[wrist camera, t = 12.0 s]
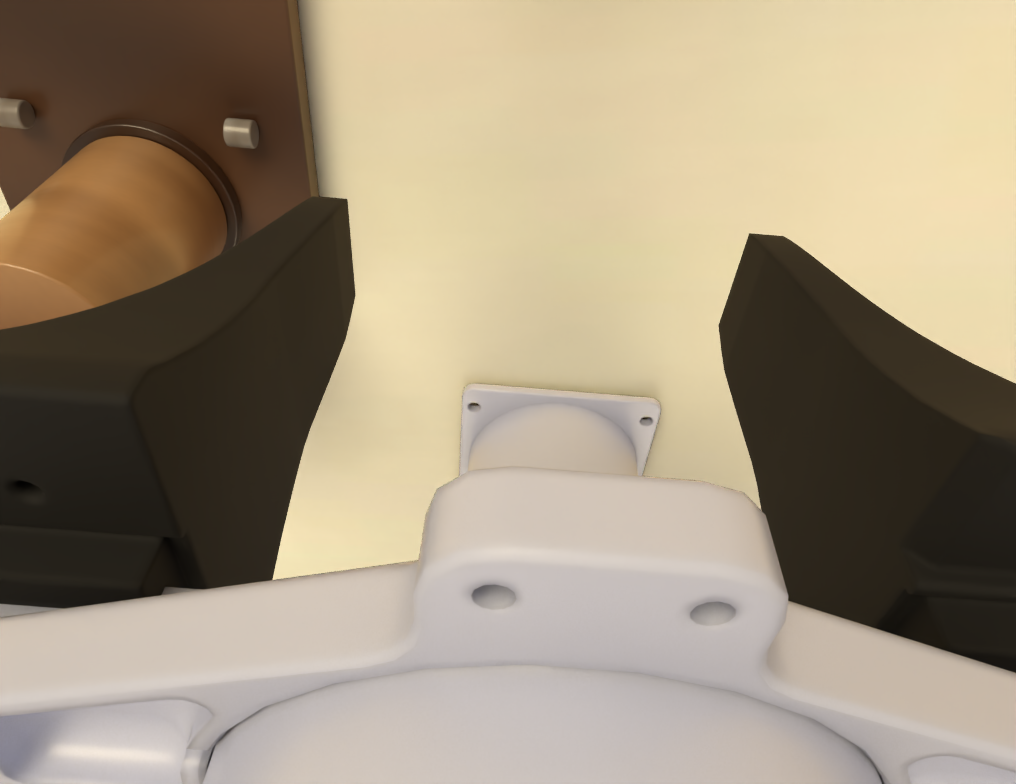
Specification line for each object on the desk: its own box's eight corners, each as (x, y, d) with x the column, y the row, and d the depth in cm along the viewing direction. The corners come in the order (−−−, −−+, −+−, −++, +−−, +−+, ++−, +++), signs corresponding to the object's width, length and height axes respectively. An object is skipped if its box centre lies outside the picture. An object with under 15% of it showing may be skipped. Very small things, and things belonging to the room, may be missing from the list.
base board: (331, 295, 26) (319, 324, 25) (56, 272, 26) (30, 301, 25) (266, -280, 16) (240, -283, 15) (-188, -325, 16) (-256, -331, 15)
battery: (255, 280, 25) (167, 439, 19) (98, 266, 25) (-37, 423, 19) (225, 126, 21) (106, 265, 16) (41, 110, 21) (-146, 244, 16)
